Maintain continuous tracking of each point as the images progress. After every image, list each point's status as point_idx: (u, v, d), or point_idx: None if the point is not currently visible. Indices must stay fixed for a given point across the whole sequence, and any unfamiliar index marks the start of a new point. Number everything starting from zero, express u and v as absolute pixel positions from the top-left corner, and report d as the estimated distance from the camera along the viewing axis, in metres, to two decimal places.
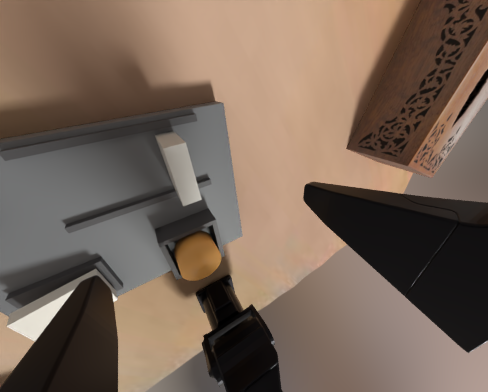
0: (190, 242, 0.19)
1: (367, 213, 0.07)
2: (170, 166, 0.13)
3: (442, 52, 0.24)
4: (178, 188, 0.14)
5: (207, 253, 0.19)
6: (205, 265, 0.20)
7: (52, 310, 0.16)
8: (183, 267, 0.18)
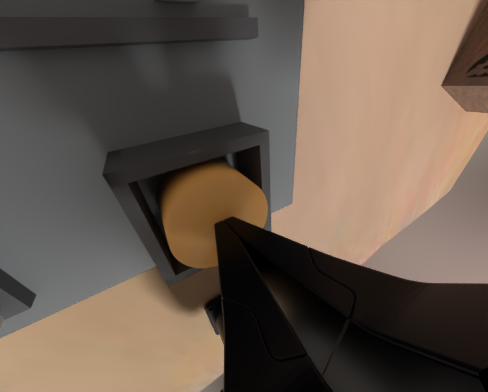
0: (195, 169, 0.07)
1: (270, 271, 0.05)
2: None
3: None
4: None
5: (240, 196, 0.07)
6: None
7: None
8: (176, 229, 0.07)
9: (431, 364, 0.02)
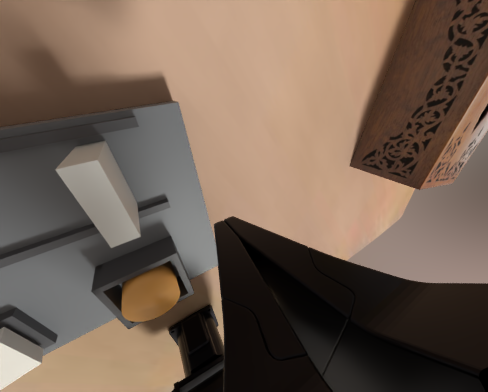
0: None
1: (270, 270, 0.05)
2: (76, 195, 0.09)
3: (451, 56, 0.20)
4: (97, 225, 0.10)
5: (159, 288, 0.15)
6: (157, 302, 0.16)
7: None
8: (125, 308, 0.14)
9: (431, 364, 0.02)
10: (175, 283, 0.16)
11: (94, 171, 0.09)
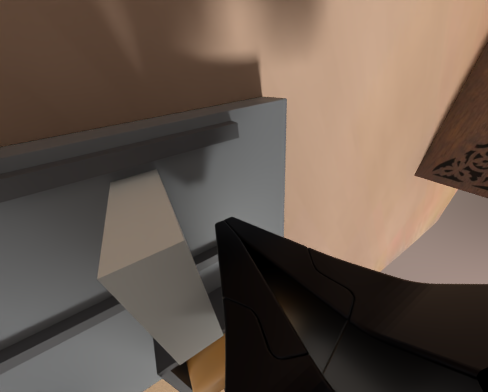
0: None
1: (269, 271, 0.05)
2: (135, 312, 0.04)
3: None
4: (165, 343, 0.05)
5: None
6: None
7: None
8: (199, 389, 0.10)
9: (430, 365, 0.02)
10: None
11: (175, 262, 0.04)
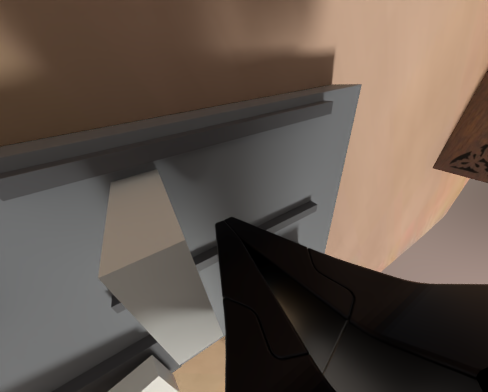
0: None
1: (269, 271, 0.05)
2: (135, 311, 0.04)
3: None
4: (165, 343, 0.05)
5: None
6: None
7: None
8: None
9: (430, 365, 0.02)
10: None
11: (175, 261, 0.04)
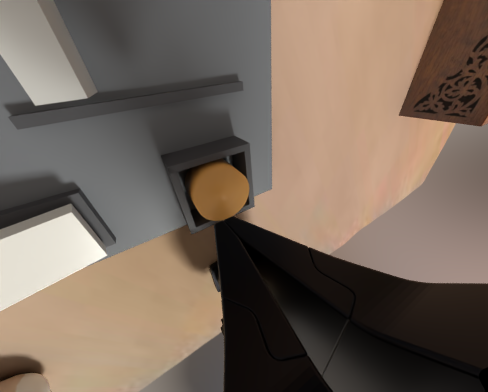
0: (208, 164, 0.14)
1: (269, 270, 0.05)
2: None
3: None
4: None
5: (233, 179, 0.14)
6: (228, 198, 0.14)
7: None
8: (200, 195, 0.13)
9: (430, 364, 0.02)
10: None
11: None
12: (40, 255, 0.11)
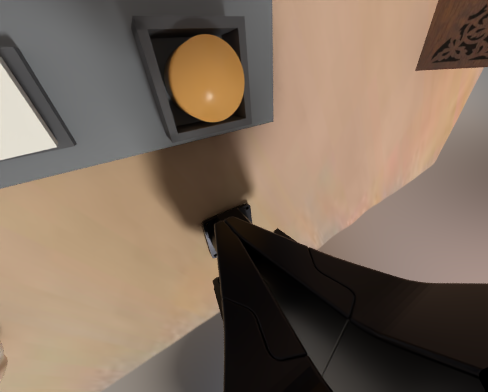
0: None
1: (270, 271, 0.05)
2: None
3: None
4: None
5: (222, 56, 0.11)
6: (217, 87, 0.11)
7: None
8: (179, 67, 0.10)
9: (431, 364, 0.02)
10: None
11: None
12: None
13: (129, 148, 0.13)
